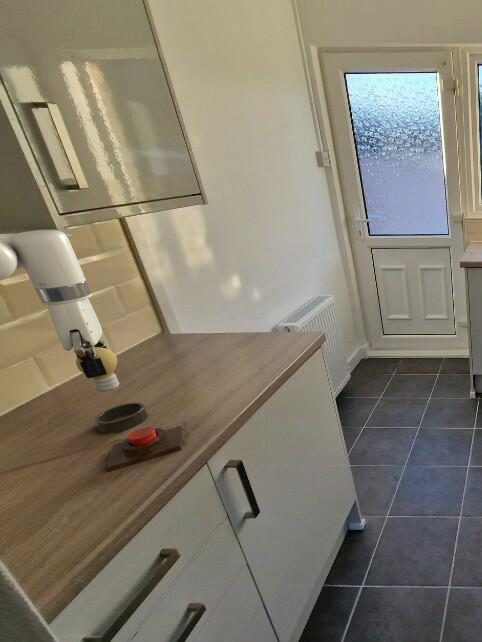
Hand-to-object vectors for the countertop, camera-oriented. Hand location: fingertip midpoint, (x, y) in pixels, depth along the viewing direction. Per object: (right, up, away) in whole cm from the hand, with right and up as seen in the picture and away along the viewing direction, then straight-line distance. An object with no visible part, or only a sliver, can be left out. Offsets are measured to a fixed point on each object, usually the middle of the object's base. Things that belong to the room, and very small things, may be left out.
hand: (100, 369), depth 92 cm
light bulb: (0, -5, +2) cm, 5 cm away
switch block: (+12, -17, -2) cm, 21 cm away
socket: (0, -14, +6) cm, 15 cm away
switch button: (+12, -15, -3) cm, 20 cm away
